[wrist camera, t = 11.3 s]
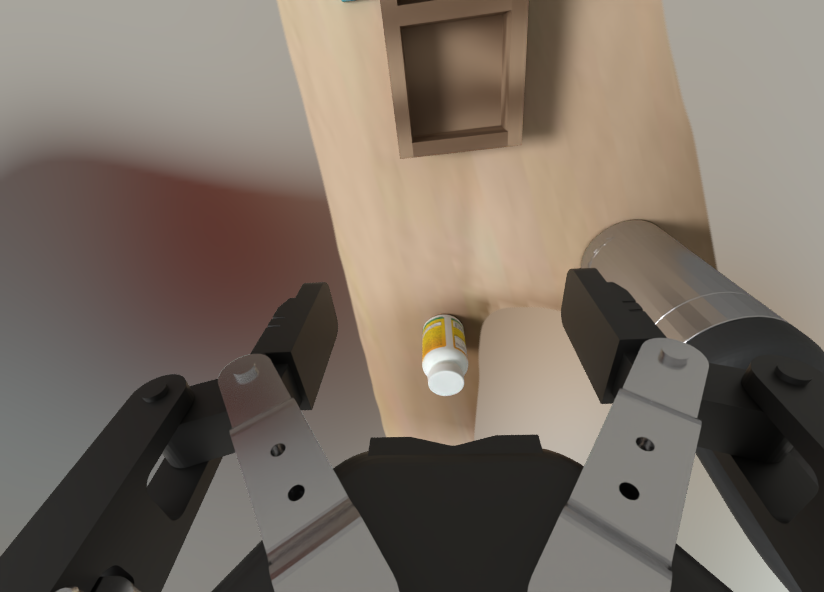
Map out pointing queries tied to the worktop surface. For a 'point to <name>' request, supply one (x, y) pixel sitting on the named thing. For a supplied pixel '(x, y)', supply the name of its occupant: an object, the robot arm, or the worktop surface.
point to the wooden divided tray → (456, 73)
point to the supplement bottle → (444, 354)
